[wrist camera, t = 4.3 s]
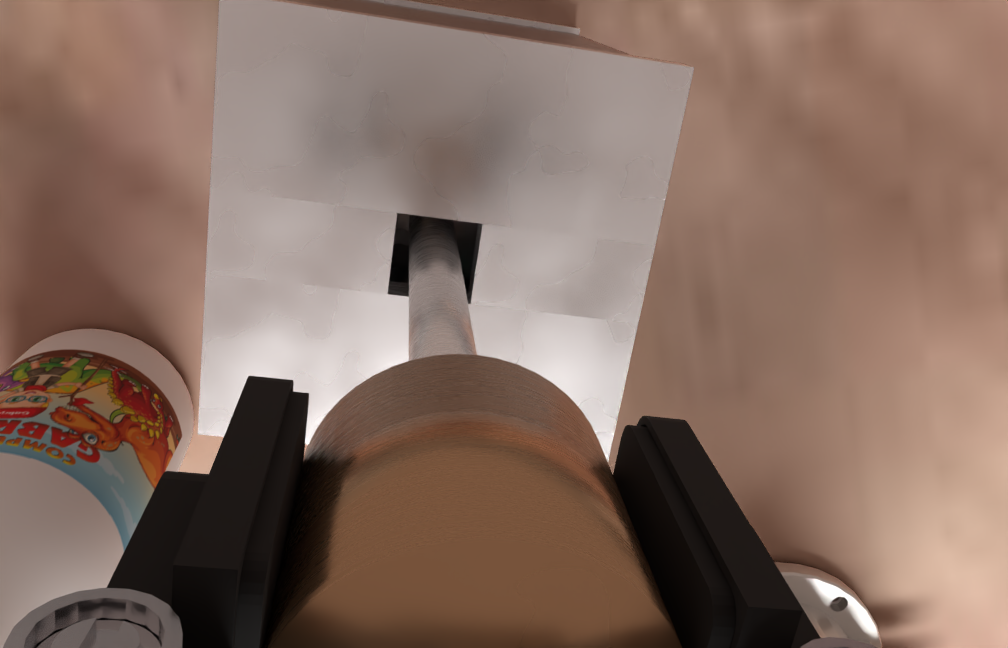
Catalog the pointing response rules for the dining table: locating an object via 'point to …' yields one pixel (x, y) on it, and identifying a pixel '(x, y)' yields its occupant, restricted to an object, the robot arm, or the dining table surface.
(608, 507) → the plunger
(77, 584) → the milk bottle
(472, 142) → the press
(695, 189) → the dining table surface
